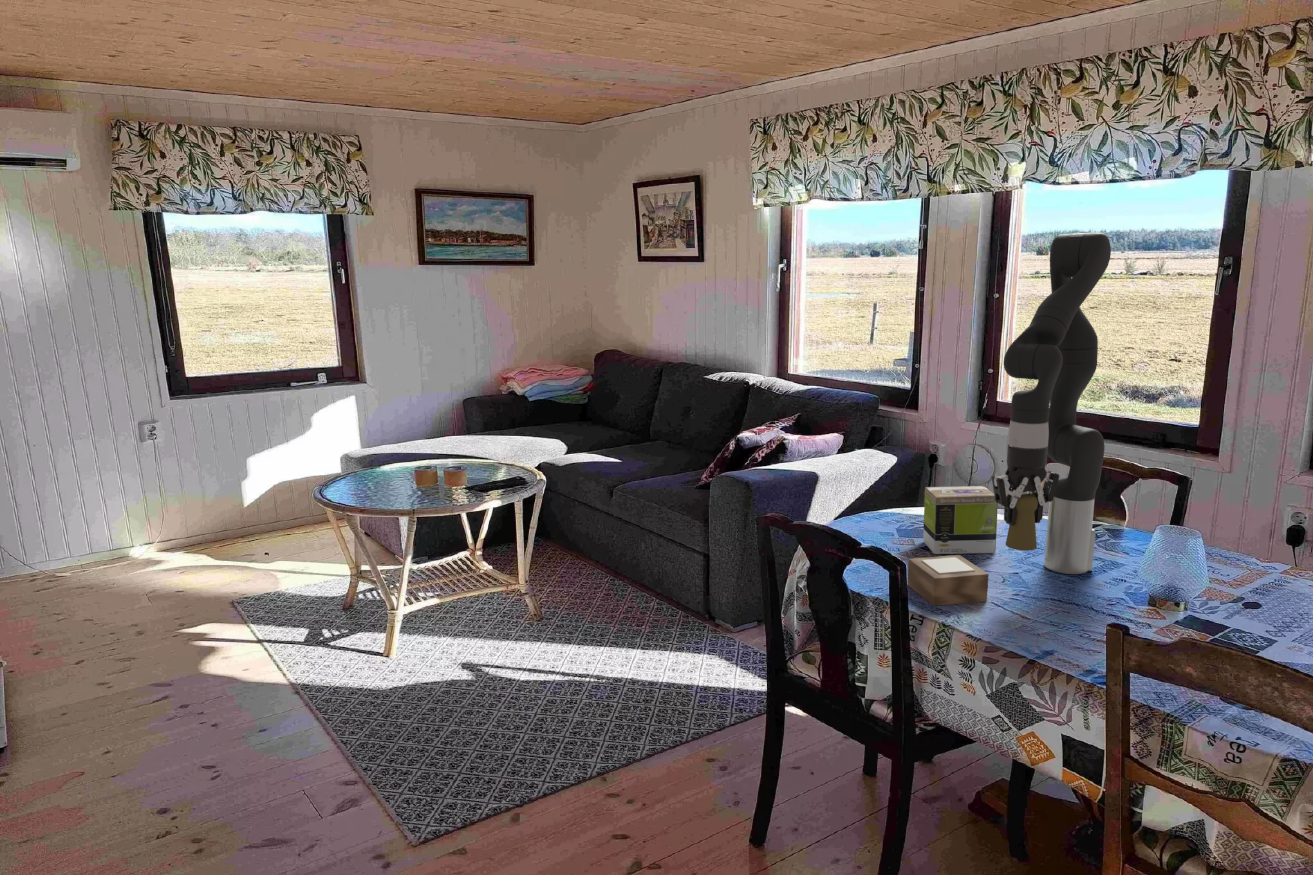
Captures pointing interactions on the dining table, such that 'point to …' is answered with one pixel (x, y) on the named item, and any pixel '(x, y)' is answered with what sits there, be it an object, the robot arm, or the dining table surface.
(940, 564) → the block
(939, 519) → the tea box
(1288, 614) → the dining table surface
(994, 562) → the dining table surface
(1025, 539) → the cork
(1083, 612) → the dining table surface
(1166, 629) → the dining table surface
